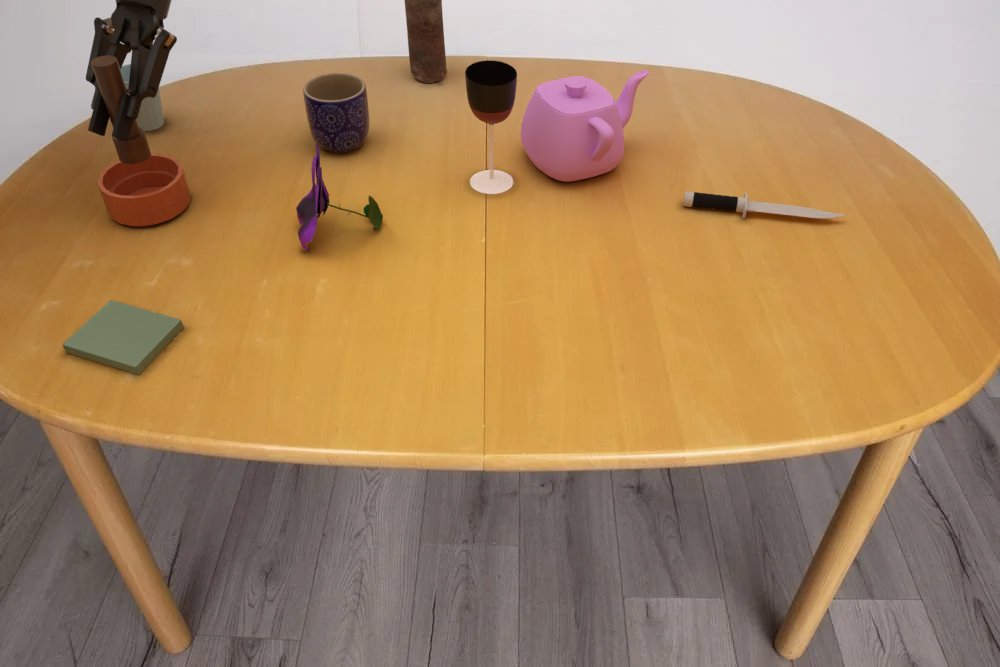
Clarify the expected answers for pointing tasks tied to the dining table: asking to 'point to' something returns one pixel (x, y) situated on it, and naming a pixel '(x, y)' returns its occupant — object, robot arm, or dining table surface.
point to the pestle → (112, 93)
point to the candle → (426, 39)
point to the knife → (750, 205)
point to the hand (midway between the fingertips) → (108, 135)
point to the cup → (146, 107)
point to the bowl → (145, 190)
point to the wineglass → (491, 113)
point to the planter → (337, 111)
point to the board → (123, 336)
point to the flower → (325, 206)
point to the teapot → (577, 126)
